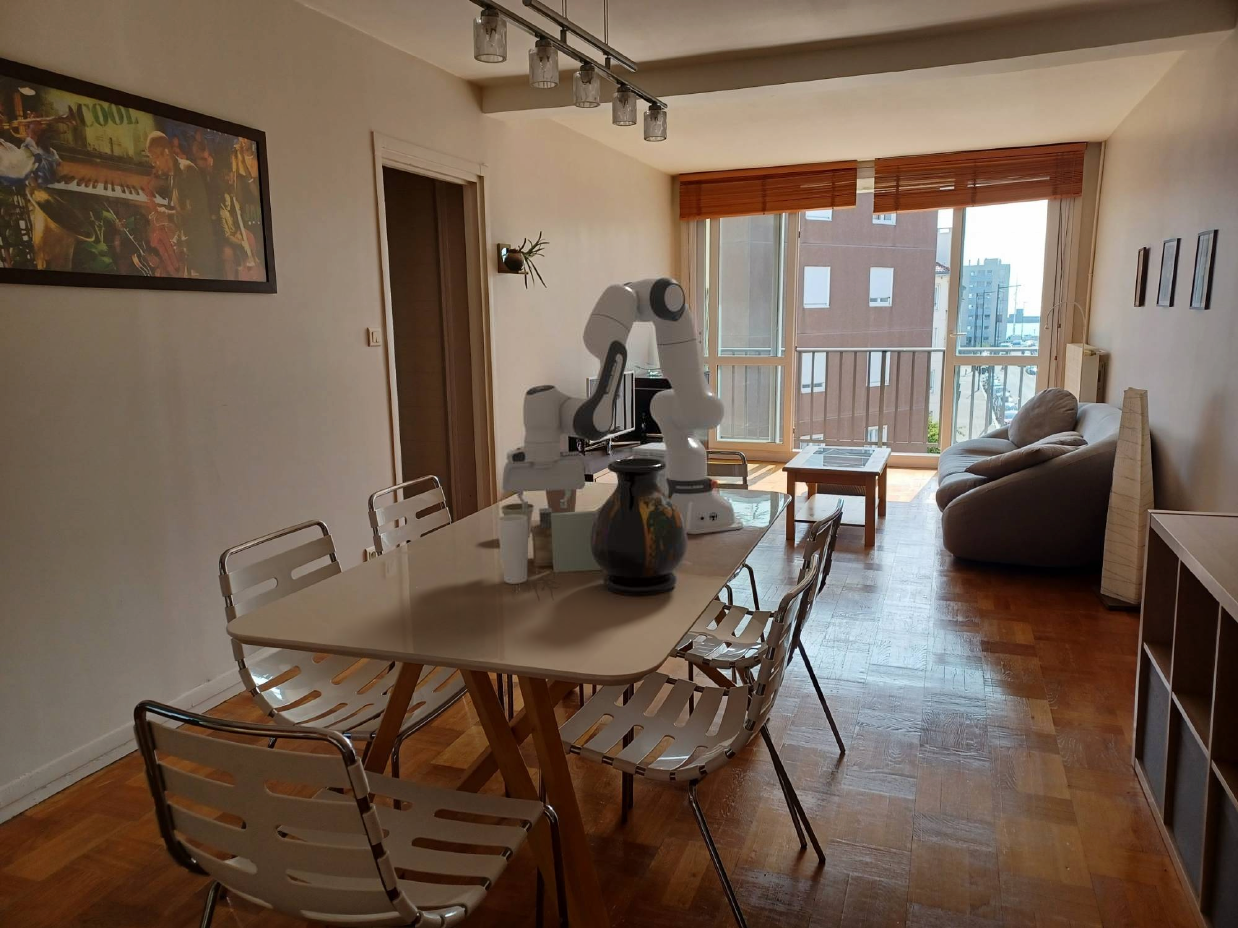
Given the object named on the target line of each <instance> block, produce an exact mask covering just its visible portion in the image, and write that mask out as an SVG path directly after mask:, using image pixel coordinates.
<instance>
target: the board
mask: <svg viewBox="0 0 1238 928" xmlns="http://www.w3.org/2000/svg"><path fill="white" fill-rule="evenodd" d="M598 511H599V510H583V511H575V512H564V513H551V523H552V546H553V565H552V568H553V573H565V572H566V573H567V572H582V571H584V572H585V571H599V570H602V569H601V568H600V567H599V565H598V564H597V563H596V561H595V560H594V557H593V555H592V550H591V533H592V526H593V523H594V519H595V517H596V515H597V513H598Z"/></svg>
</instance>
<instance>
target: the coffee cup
mask: <svg viewBox="0 0 1238 928" xmlns="http://www.w3.org/2000/svg"><path fill="white" fill-rule="evenodd" d="M577 490H578V489H572V490H571V495H570V497H569V498H568V500H567V508H561V500H564V498H565V496H566V494H565V490H548V491H545V497H546V501H547V502H546V503H547V508H551V509H552V513H564V512H576V504H577Z"/></svg>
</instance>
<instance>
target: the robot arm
mask: <svg viewBox="0 0 1238 928" xmlns="http://www.w3.org/2000/svg"><path fill="white" fill-rule="evenodd" d="M589 315H590V316H589V317H588V320H587V322H586V324H585V327H584V330H583V334H582V335H583V336H582V339H583V343H584V346H585V348H586V349H587V350H588V352H589V353H590V354H591V355H592V356H594V357H595V358H597V359H598V360H599V364H600V365H599V370H598V373H597V377H596V380H595V384H594V386H593V391H592V392H591V394H590V395H589V396H588V397H586V398H579V397H572V396H571V395H568V394H565V393H564V392H561V391H560V390H559V389H558V388H557V387H556V386H555V385H552V384H544V385H537V386H534V387H530V388H529V389H528V390H527V391H526V392H525V395H524V397H523V398H524V400H523V405H522V407H523V409H522V410H523V411H522V415H523V418H522V419H523V421H522V422H523V426H524V430H525V435H524V440H523V445H522V446H519V447H516V448H514V449H510V450H509V451H507V452H506V460H507V462H505V464H504V467H503V473H502V490H503V491H504V492H505V493H517V494H516V495H517V498H518V500H519V501H520V503H522V509H528V503H529V501H528V500H525V499H524V497H523V496H524V492H542V491H545V492H546V491H548V490H565V494H566V496H565V498H564V500H561V508H567V500H568V498H569V497H570V495H571V490H572V489H577V490H582V489H584V488H585V486H586V480H585V479H586V478H585V473H584V469H585V468H586V465H587V464H586V463H587V462H586V456H585V455H584V454H583V453H581V452H579V451H562V449H561V448H562V447H561V436H568V437H571V438H572V437H573V438H580V439H583V440H587V441H590V442H598V441H601V440H603V439H604V438H605V437H606V436H607V435H609V433H610V432H611V429H612V427H613V422H614V416H615V415H614V414H615V409H616V408H615V407H616V402H617V400H618V399H617V398H618V395H619V391H620V388H621V385H622V380H623V378H624V377H623V376H624V374H625V369H626V365H627V362H628V350H627V347H626V345H627V341H628V338H629V336H630V333H631V331H632V328H633V324H634V323H635V322H639V323H652V324H653V326H654V329H655V330H654V331H655V341H656V350H657V354H658V356H657V357H658V361H659V368H660V369H659V370H660V372H661V374H662V375H663V376H664V377H665V378H666V379H667V380H668V382H669V384H670V386H671V388H670V389H665V390H662V391H658V392H657V393H656V394H654V396H653V397H652V399H651V401H650V405H649V411H650V415H651V417H652V419H653V420H654V421H655V422H656V424H657V425H658V427H659V429H660V432H661V436H662V438H663V441H664V442H663V443H665V446H666V451H667V467H668V477H667V479H666V495H667V497H668V498H669V499H670V500H671V501H672V502H673V503H674V504H675V506H676V507H677V508H678V510H679V512H680V514H681V516H682V518H683V521H684V524H685V527H686V532H687V534H690V535H699V534H707V533H714V532H725V531H734V530H741V529H742V528H743V525H744V524H743V521H742V520H741V519H740V518H738V517H736V516H735V510H734V507H733V505H732V502H730V501H729V500H727V499H726V497H724V496H722V495H721V494H719V493H718V492H717V491H716V490H715V489H716V488H718V486H719V482H718V481H717V480H716V479H712V478H710V477H709V476H708V475H707V474H708V472H707V471H708V470H707V469H708V468H707V467H708V464H707V461H708V460H707V458H708V457H707V456H708V455H707V450H706V448H705V446H704V445H703V444H702V443H701V441H700V439H699V438H698V435H697V432H705V431H709V430H713V429H716V428H717V427H718V426H720V425H721V423H722V421H723V418H724V415H725V408H724V407H725V406H724V403H723V401H722V400H721V398H720V397H719V396H718V395H716V393H715V392H714V390H712V388H711V387H710V384H709V383H708V380H707V378H706V375H705V373H704V370H703V368H702V363H701V359H700V353H699V347H698V346H699V345H698V340H697V338H698V337H697V332H696V331H697V330H696V328H695V323H694V319H693V315H692V311H691V310H690V307H689V305H688V304H687V302H686V295H685V292H684V288H683V287H682V285H681V283H679V282H678V281H677V280H676V279H673V278H669V277H660V278H644V279H641V280H637V281H630V282H626V283H624V284H619V283H618V284H612V285H609V286H607V287H606V289H604V291H603V292H602V294H601V295H600V297H599V298H598V300H597V302H596V303H595V305H594V307H593V308H592V310H591V312H590V314H589Z"/></svg>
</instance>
